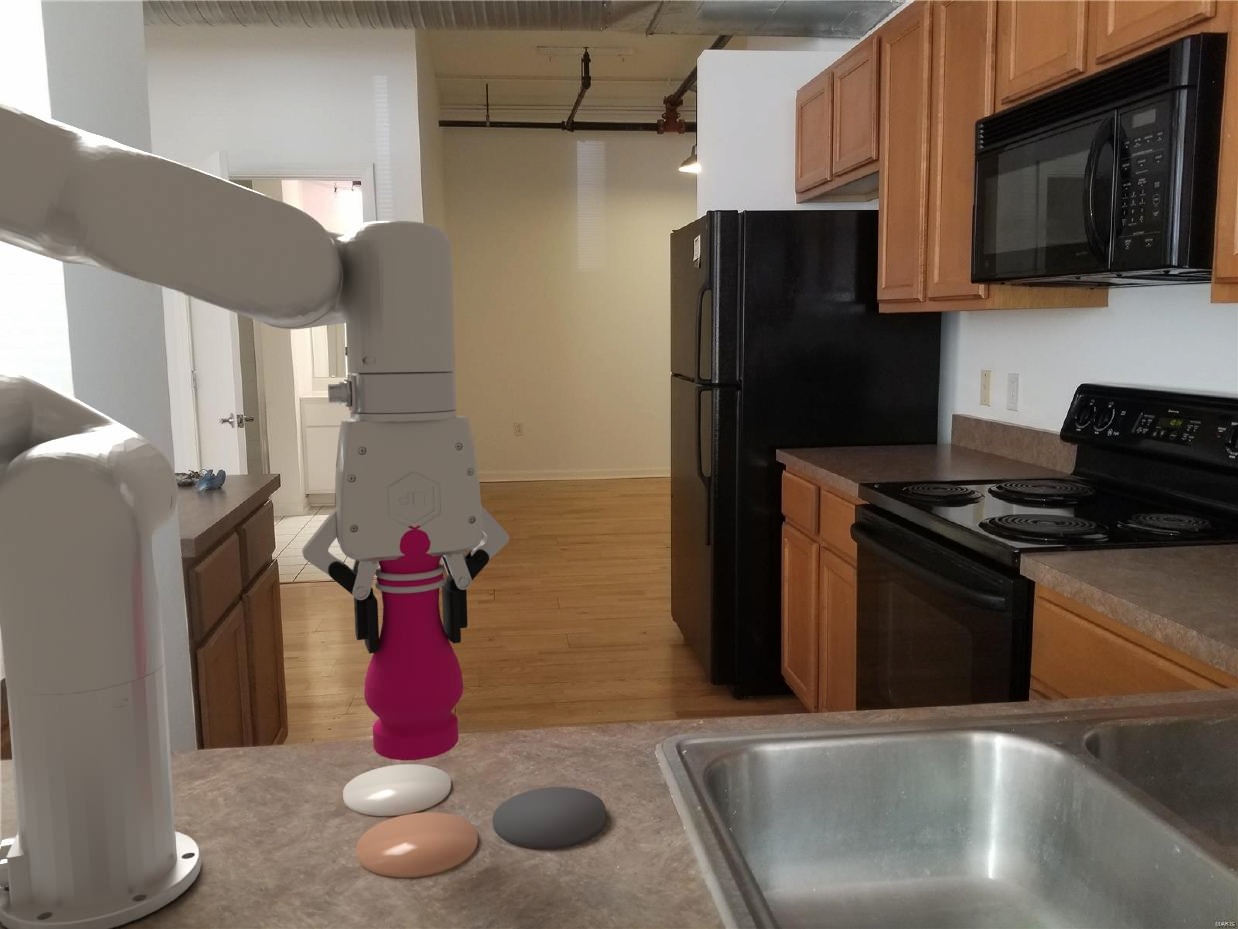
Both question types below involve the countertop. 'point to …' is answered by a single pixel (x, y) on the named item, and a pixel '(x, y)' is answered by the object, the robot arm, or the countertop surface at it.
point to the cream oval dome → (396, 790)
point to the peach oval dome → (417, 844)
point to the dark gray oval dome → (550, 818)
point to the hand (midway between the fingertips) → (412, 640)
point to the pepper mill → (413, 659)
